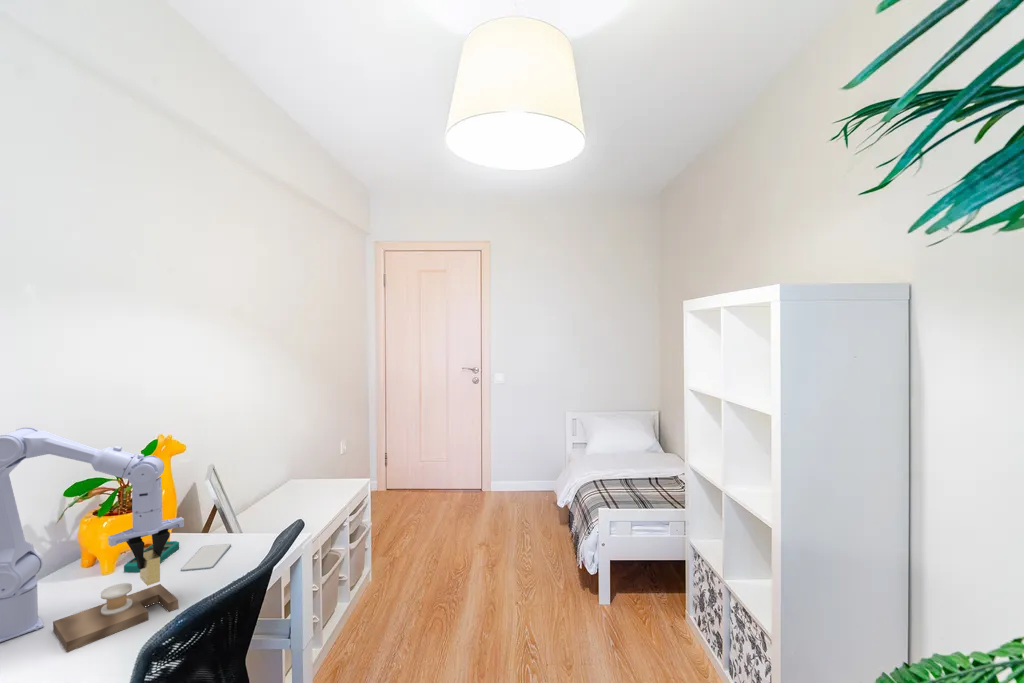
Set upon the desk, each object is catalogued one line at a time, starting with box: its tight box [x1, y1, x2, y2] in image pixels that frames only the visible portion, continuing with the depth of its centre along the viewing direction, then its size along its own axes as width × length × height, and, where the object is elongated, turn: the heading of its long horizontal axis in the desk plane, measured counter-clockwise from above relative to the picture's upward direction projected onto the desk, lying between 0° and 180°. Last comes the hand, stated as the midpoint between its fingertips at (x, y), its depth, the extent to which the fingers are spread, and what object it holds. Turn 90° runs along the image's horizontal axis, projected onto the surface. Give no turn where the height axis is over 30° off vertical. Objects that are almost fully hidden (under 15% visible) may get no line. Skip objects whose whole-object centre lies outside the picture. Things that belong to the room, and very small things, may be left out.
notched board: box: [52, 583, 180, 652], centre depth 112 cm, size 20×12×2 cm, turn 143°
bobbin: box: [100, 582, 133, 616], centre depth 112 cm, size 6×6×4 cm
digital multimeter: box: [123, 540, 180, 573], centre depth 140 cm, size 7×15×3 cm, turn 8°
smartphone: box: [180, 543, 232, 572], centre depth 142 cm, size 8×1×15 cm
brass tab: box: [139, 550, 161, 587], centre depth 116 cm, size 2×5×6 cm, turn 53°
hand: (148, 565), depth 116 cm, fingers closed on brass tab, 2 cm apart
